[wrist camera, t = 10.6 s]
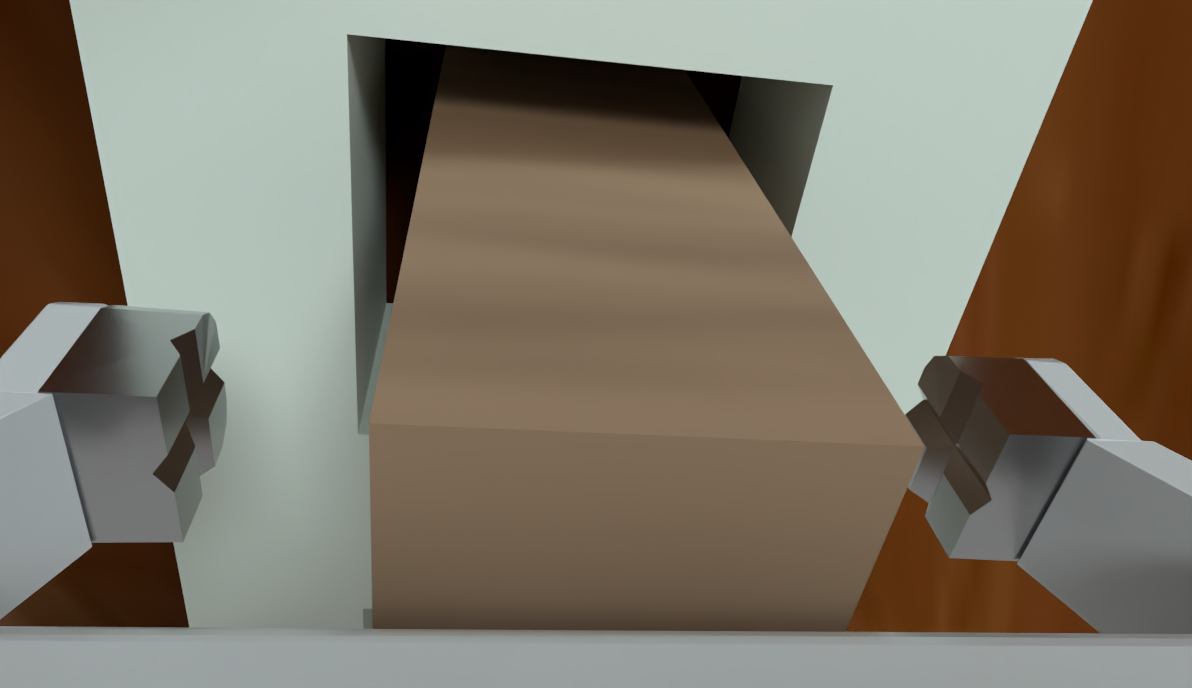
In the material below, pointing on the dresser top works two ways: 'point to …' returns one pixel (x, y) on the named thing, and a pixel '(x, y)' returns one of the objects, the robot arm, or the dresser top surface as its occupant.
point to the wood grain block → (615, 376)
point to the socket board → (358, 209)
